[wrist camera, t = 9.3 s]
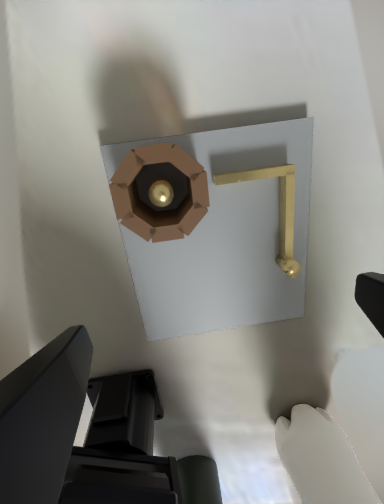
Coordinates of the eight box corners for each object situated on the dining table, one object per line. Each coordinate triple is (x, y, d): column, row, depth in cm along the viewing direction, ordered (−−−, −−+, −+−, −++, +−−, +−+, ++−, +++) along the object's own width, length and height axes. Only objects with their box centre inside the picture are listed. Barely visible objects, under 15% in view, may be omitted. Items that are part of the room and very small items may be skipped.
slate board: (299, 311, 24) (303, 316, 23) (148, 335, 23) (147, 342, 23) (307, 118, 18) (313, 116, 17) (102, 145, 17) (99, 145, 17)
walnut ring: (203, 217, 19) (212, 234, 15) (132, 227, 19) (123, 247, 15) (195, 140, 17) (203, 138, 13) (115, 150, 17) (101, 151, 13)
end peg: (173, 194, 18) (175, 204, 15) (154, 197, 18) (151, 208, 15) (170, 173, 18) (171, 179, 14) (150, 176, 17) (146, 183, 14)
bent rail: (289, 264, 21) (301, 276, 19) (221, 275, 21) (226, 288, 19) (291, 163, 18) (305, 164, 16) (212, 174, 18) (217, 177, 16)
